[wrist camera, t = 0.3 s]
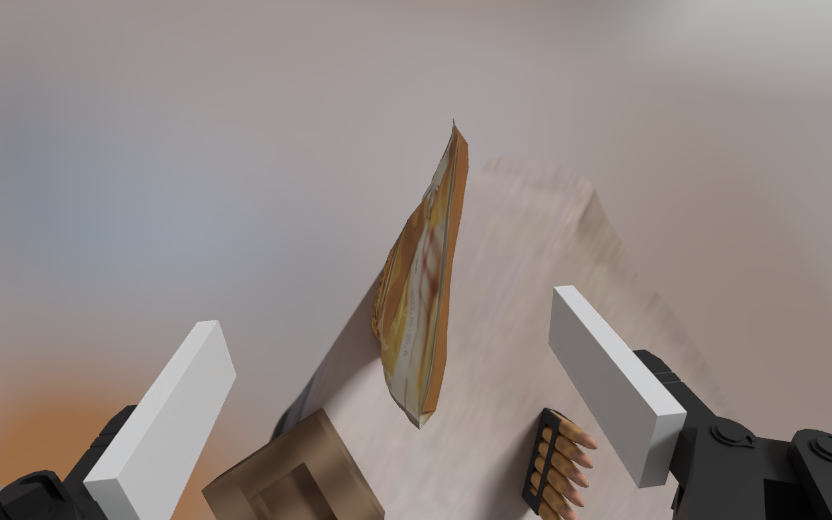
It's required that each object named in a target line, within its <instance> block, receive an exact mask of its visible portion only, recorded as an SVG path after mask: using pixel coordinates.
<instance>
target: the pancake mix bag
mask: <svg viewBox="0 0 832 520" xmlns="http://www.w3.org/2000/svg"><path fill="white" fill-rule="evenodd" d="M453 120H454V119H453ZM467 174H468V144H467V142H466V141H465V139H464V138H463V136H462V135H461V133H460V132H459V131H458V129H457V128H456V126H455V122H454V121H453V129H452V135H451V137H450V140H449V143H448V145H447V148H446V150H445V153H444V155H443V157H442V159H441V161H440V164H439V165H438V168H437V170H436V172H435V174H434V176H433V179H432V183H431V185H430V186H429V187H428V189H427V191H426V192H425V194H424V196H423V199H422V202H421V204H420V205H419V206H418V207H417V209H416V210H415V211H414V212H413V214H412V215H411V216H410V218H409V219H408V220H407V223H406V225H405V227H404V228H403V231H402V232H401V234H400V236H399V238H398V239H397V241H396V243H395V244H394V246H393V248H392V249H391V250H390V253H389V255H388V258H387V261H386V264H385V267H384V270H383V273H382V276H381V280H380V283H379V287H378V290H377V294H376V298H375V303H374V307H373V314H372V329H373V335H374V336H375V337H376V338H378V339H379V340H380V342H381V346H382V347H381V361H382V365H383V371H384V376H385V382H386V384H387V386H388V389H389V392H390V394H391V396H392V398H393V399H394V401H395V402H396V403H397V405H398V406H399V407H400V408H401V409H402V410H403V411H404V412H405V414H406V415H407V417H408V419H409V420H410V422H412V423H413V424H414V425H415V426H416V427H417V428H418V429H419V430H420V429H421V427H422V426H423V425H424V424H425V423H426V421H427V420H428V419H429V418H430V416H431V415H432V414H433V413H434V412H435V410H436V406H437V402H438V398H439V393H440V389H441V385H442V380H443V375H444V370H445V365H446V360H447V327H448V315H449V297H450V281H451V272H452V263H453V257H454V251H455V245H456V239H457V234H458V229H459V224H460V219H461V214H462V207H463V199H464V192H465V185H466V180H467Z"/></svg>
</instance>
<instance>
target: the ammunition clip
mask: <svg viewBox="0 0 832 520" xmlns="http://www.w3.org/2000/svg"><path fill="white" fill-rule="evenodd" d="M566 437H567V438H566ZM572 441H573V442H575V443H578V444H580V445H582V446H584V447H586V448H588V449H597V444H596V442H595V441H594V440H593V439H592V438H591V437H590V436H589V435H587V434H586V433H585V432H584V431H583V430H582V429H581V428H580V427H578V426H577V425H575V424H574V423H573V422H572V421H570V420H569V419H568V418H566V417H565V416H563V415H562V414H561V413H559V412H558V411H555V410H551V409H548V408H544V410H543V413H542V417H541V421H540V425H539V429H538V433H537V437H536V441H535V445H534V449H533V453H532V457H531V461H530V465H529V469H528V473H527V477H526V481H525V484H524V488H523V492H522V498H523V499H524V500H525V501H526V503H527V504H528V505H529V506H530V508H531V509H532V510H533V511H534V513H535V514H536V515H538V516H539V515H540V516H541V518H542V519H543V520H562V518H561V517H560V515H561V516H562V517H563V518H564V519H565V520H578V518H577V516H576V514H575V513H574V511H573V510H572V509H571V507H570V506H569V505H568V503H567V501H566V499H565V498H564V497H563V496H562V495H564V496H565V497H566V498H567V499H568V500H569V501H570V502H572V503H573V504H575V505H577V506H579V507H584V501H583V499H582V497H581V495H580V494H579V493H578V492H577V490H576V489H575V488H574V487H573V486H572V484H571V482H570V481H569V480H568V479H567V478H566V477H568V478H569V479H570V480H572V481H573V482H574V483H576V484H577V485H579V486H581V487H585V488H587V487H589V484H588V481H587V479H586V477H585V476H584V475H583V474H582V473H581V472H580V471H579V470H578V469H577V468H576V466H575V465H574V463H573V462H572V461H571V460H573V461H575V462H576V463H578V464H579V465H581V466H583V467H585V468H593V463H592V461H591V460H590V458H589V457H588V456H587V455H586V454H585V453H583V452H582V451H581V450H580V449H579V447H578V446H577V445H576V444H575V443H573V442H572ZM569 459H570V460H569ZM565 476H566V477H565ZM561 494H562V495H561ZM558 513H559V514H560V515H559V514H558Z"/></svg>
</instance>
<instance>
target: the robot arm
mask: <svg viewBox="0 0 832 520" xmlns="http://www.w3.org/2000/svg"><path fill="white" fill-rule="evenodd" d="M548 344H549V345H550V347H551V348H552V350H553V352H554V353H555V355H556V356H557V358H558V360H559V361H560V363H561V364H562V366H563V368H564V369H565V371H566V372H567V374H568V376H569V377H570V379H571V380H572V382H573V384H574V385H575V387H576V389H577V390H578V392H579V393H580V395H581V397H582V398H583V400H584V401H585V403H586V405H587V406H588V408H589V409H590V411H591V413H592V414H593V416H594V417H595V419H596V421H597V422H598V424H599V426H600V427H601V429H602V430H603V432H604V434H605V435H606V437H607V438H608V440H609V442H610V443H611V445H612V446H613V448H614V450H615V451H616V453H617V454H618V456H619V458H620V459H621V461H622V462H623V464H624V466H625V467H626V469H627V471H628V472H629V474H630V475H631V477H632V479H633V480H634V482H635V483H636V485H637V487H638V488H645V487H653V486H661V485H665V483H666V480H667V477H668V473H669V470H670V471H671V473H672V474H673V475H674V477H675V478H676V480H677V481H678V482H679V485H678V488H677V491H676V494H675V497H674V500H673V503H672V506H671V509H673V510H674V512H673V519H672V520H832V434H829V433H826V432H823V431H819V430H812V429H803V430H800V431H797V432H796V434H795V435H794V437H793V439H792V441H791V442H786V441H780V440H772V439H766V438H760V437H756V436H755V435H754V434H753V433H752V432H751V431H750V430H748V429H747V428H745V427H744V426H743V425H741V424H739V423H737V422H734V421H732V420H730V419H726V418H722V417H717V416H716V415H715V414H714V413H713V412H712V411H711V410H710V409H709V408H708V407H707V406H706V405H705V404H704V403H703V402H702V401H701V400H700V399H699V398H698V397H697V396H696V395H695V394H694V393H693V392H692V391H691V390H690V389H689V388H688V387H687V386H686V385H685V384H684V383H683V382H681V380H680V379H679V378H678V376H677V375H676V374H675V373H672V371H671V369H670V368H669V367H668V366H667V365H666V364H665V363H664V362H663V361H662V360H661V359H660V358H658V357H656V356H655V355H653V354H651V353H650V352H648V351H646V350H636V351H631V349H630V348H629V347H628V346H627V345H626V344H625V343H624V342H623V341H622V339H621V338H620V337H619V336H618V335H617V334H616V333H615V332H614V331H613V330H612V328H611V327H610V326H609V325H608V324H607V323H606V322H605V321H604V320H603V318H602V317H601V316H600V315H599V314H598V313H597V312H596V311H595V310H594V308H593V307H592V306H591V305H590V304H589V303H588V302H587V301H586V300H585V298H584V297H583V296H582V295H581V294H580V293H579V292H578V291H577V290H576V289H575V287H574V286H573V285H570V286H559V287H554V290H553V300H552V311H551V321H550V331H549V342H548ZM235 378H236V373H235V370H234V367H233V364H232V361H231V358H230V355H229V352H228V349H227V345H226V342H225V339H224V336H223V333H222V330H221V327H220V324H219V321H218V320H213V321H202V322H197V324H196V325H195V327H194V328H193V329H192V331H191V332H190V333H189V335H188V336H187V338H186V339H185V340H184V342H183V343H182V345H181V346H180V347H179V349H178V350H177V352H176V353H175V354H174V356H173V357H172V358H171V360H170V361H169V363H168V364H167V365H166V367H165V368H164V370H163V371H162V372H161V374H160V375H159V377H158V378H157V379H156V381H155V382H154V384H153V385H152V386H151V388H150V389H149V390H148V392H147V393H146V395H145V396H144V398H143V399H142V400H141V402H140V403H139V404H138V405H131V406H127V407H125V408H124V409H123V410H122V411H120V412H119V413H118V414H117V415H115V416H114V417H113V418H112V419H111V420H110V421H109V422H108V424H107V425H106V426H105V428H104V429H103V430H102V431H101V433H100V434H99V437H97V438H96V439H95V441H94V442H93V443H92V445H91V446H90V449H88V450H87V451H86V452H85V454H84V455H83V456H82V457H81V459H80V460H79V461H78V463H77V464H76V465H75V467H74V468H73V469H72V471H71V472H70V473H69V475H68V476H67V477H66V478H65V480H64V481H63V482H61V481H60V479H59V478H58V476H57V475H56V474H55V472H53V471H48V470H43V471H38V472H33V473H31V474H28V475H26V476H23V477H21V478H19V479H17V480H16V481H14V482H12V483H11V484H9V485H8V486H6V487H5V488H3V489H2V490H1V491H0V520H170V518H171V516H172V514H173V512H174V509H175V507H176V505H177V503H178V501H179V499H180V496H181V494H182V492H183V490H184V488H185V486H186V484H187V481H188V479H189V477H190V475H191V473H192V471H193V468H194V466H195V464H196V462H197V460H198V457H199V456H200V453H201V451H202V449H203V447H204V444H205V443H206V440H207V438H208V436H209V434H210V432H211V430H212V428H213V425H214V423H215V421H216V419H217V417H218V414H219V412H220V410H221V408H222V406H223V404H224V402H225V400H226V397H227V395H228V393H229V391H230V389H231V387H232V385H233V382H234V380H235Z"/></svg>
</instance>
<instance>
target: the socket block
mask: <svg viewBox="0 0 832 520" xmlns="http://www.w3.org/2000/svg"><path fill="white" fill-rule="evenodd" d="M202 493H203V495H204V497H205V499H206V501H207V502H208V504H209V506H210V508H211V510H212V511H213V513H214V515H215V517H216V519H217V520H384V515H385V511H384V510H383V508H382V506H381V505H380V503H379V501H378V500H377V498H376V496H375V495H374V493H373V491H372V490H371V488H370V486H369V485H368V483H367V481H366V480H365V478H364V476H363V475H362V473H361V471H360V470H359V468H358V466H357V465H356V463H355V461H354V460H353V458H352V456H351V455H350V453H349V451H348V450H347V448H346V446H345V445H344V443H343V441H342V440H341V438H340V436H339V435H338V433H337V431H336V430H335V428H334V426H333V424H332V423H331V421H330V419H329V418H328V416H327V414H326V413H325V411H324V409H323V408H320V409H319V410H317V411H316V412H314V413H313V414H311V415H310V416H308V417H307V418H305V419H304V420H302V421H301V422H299V423H298V424H296V425H295V426H293V427H292V428H290V429H289V430H287V431H286V432H284V433H283V434H281V435H280V436H278V437H277V438H275V439H274V440H272V441H271V442H269V443H268V444H266V445H265V446H263V447H262V448H260V449H259V450H257V451H256V452H254V453H253V454H251V455H250V456H249V457H247V458H245V459H244V460H242V461H241V462H239V463H238V464H236V465H235V466H233V467H232V468H230V469H229V470H227V471H226V472H224V473H223V474H221V475H220V476H218V477H217V478H216V479H215V480H214V481H212V482H211V483H210V484H209V485H208V486H207V487H205V488H204V489H203V490H202Z"/></svg>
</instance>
